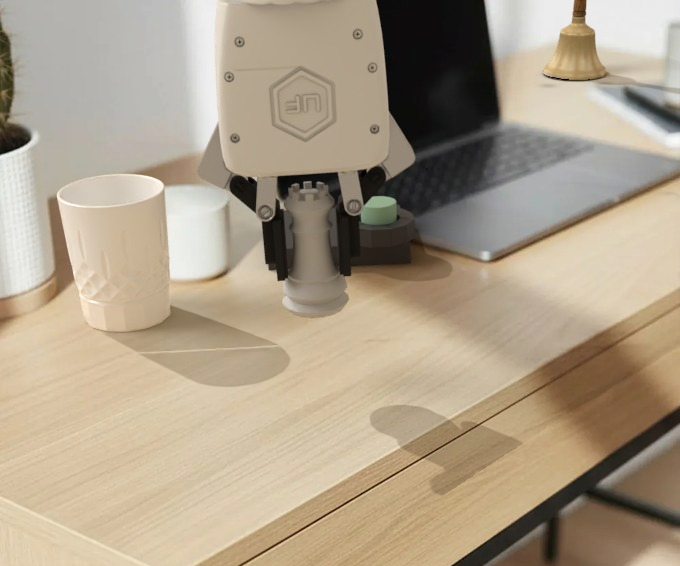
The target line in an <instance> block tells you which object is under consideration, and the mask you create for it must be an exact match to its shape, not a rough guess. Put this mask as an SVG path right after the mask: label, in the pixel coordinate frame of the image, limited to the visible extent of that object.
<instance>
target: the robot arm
mask: <svg viewBox="0 0 680 566" xmlns="http://www.w3.org/2000/svg"><path fill="white" fill-rule="evenodd" d="M379 13H380V12H379V8H378V4H377V0H216V9H215V20H214V67H215V69H214V70H215V71H214V72H215V90H216V103H217V104H216V105H217V120H218V121H217V123H216V125H215V127H214V129H213V132H212V134H211V136H210V137H209V141H208V143H207V145H206V147H205V149H204V151H203V154H202V155H201V157H200V160H199V162H198V167H197V175H198V177H199V178H201V180H204V181H206V182H208V183H210V184H212V185H214V186H216V187H218V188H220V189H222V190H226V191H228V192H230V193H231V194H232V195H233V196H234V197H235V198H237V200H239V201H240V202H241V203H243V204H244V205H245V206H246V207H247V208H248V209H250V210H251V211H252V212H253V213H254V214H255V215H256V217H257V219H258V220H259V221H261V229H262V240H263V253H264V261H265V262H264V263H265V265H268V264H276V269H277V270H276V279H277V282H283V281H285V279H286V278H288V270H289V269H288V260H287V247H286V234H285V221H284V210H285V209H284V208H281V201H280V200H279V199H278V198H277V190H278V177H285V176H300V175H301V176H302V175H314V174H315V175H317V174H327V173H328V174H329V173H330V174H331V173H337V176H338V181H339V186H340V192H341V193H340V194H339V195H338V197H337V204H336V205H335V204H334V208H335V214H336V232H337V250H338V263H339V270H340V275H343V277H345V278H347V277H352V266H351V260H350V259H354V258H361V251H360V229H359V214H360V213H361V212H362V211H363V208H364V205H365V204H366V203H367V202H368V201H369V200H370V199H371V198H372V197H374V196H375V195H376V194H377V192H378V191H380V189H381V188H382V187H383V186H384V185H385V184H386V182H387V181H388V180H391V179H393V178H394V177H396V176H398V175H399V174H400V173H402V172H403V171H405V170H406V169H408V168H410V167H411V166H412V165H413V164H414V163H415V161H416V154H415V152H414V149H413V147H412V145H411V144H410V142H409V141H408V138H406V136H405V134H404V133H403V131H402V129H401V128H400V126H399V125H398V123H397V122H396V120H395V118H394V116H393V115H392V114H391V112H390V111H389V95H388V94H389V93H388V82H387V69H386V59H385V57H386V56H385V49H384V47H385V46H384V38H383V31H382V27H381V25H382V24H381V19H380V18H381V17H380V14H379ZM358 171H360V172H358ZM255 178H256V179H255Z"/></svg>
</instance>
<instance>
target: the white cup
mask: <svg viewBox="0 0 680 566" xmlns="http://www.w3.org/2000/svg"><path fill="white" fill-rule="evenodd" d="M165 186H166V185H165V183H164V182H162V181H161V180H160V179H158V178H156V177H153V176H149V175H143V174H135V173H116V174H115V173H112V174H103V175H96V176H90V177H85V178H82V179H79V180H75V181H73V182H70V183H68V184H66V185H64V186H63V187H61V188H60V189H58V191H57V193H56V199H57V204H58V209H59V214H60V217H61V218H60V219H61V224H62V228H63V233H64V238H65V244H66V249H67V252H68V253H67V254H68V257H69V261H70V265H71V269H72V274H73V278H74V283H75V285H76V288H77V290H78V292H79V293H78V295H79V300H80V305H81V310H82V316H83V320H84V322H85V323H86V324H87V325H89V326H90V327H91V328H92V329H96V330H98V331H103V332H108V333H129V332H136V331H142V330H147V329H149V328H152V327H154V326H157V325H159V324H162V323H163V322H164V321H165V320H166V319H168V317H170V316H171V296H170V295H171V294H170V281H171V271H170V270H171V269H170V248H169V247H170V245H169V234H168V233H169V232H168V216H167V215H168V214H167V204H166V203H167V201H166V187H165Z"/></svg>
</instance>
